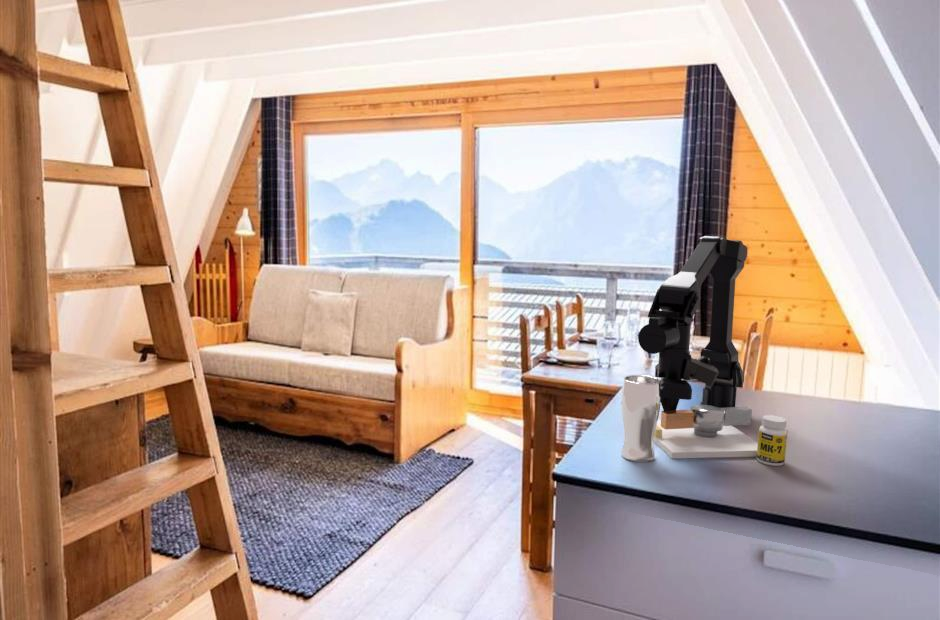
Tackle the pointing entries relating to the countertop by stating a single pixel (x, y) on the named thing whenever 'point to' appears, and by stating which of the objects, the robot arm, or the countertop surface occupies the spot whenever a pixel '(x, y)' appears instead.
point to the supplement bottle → (772, 440)
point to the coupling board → (704, 443)
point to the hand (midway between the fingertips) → (669, 420)
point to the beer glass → (640, 416)
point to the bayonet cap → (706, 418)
